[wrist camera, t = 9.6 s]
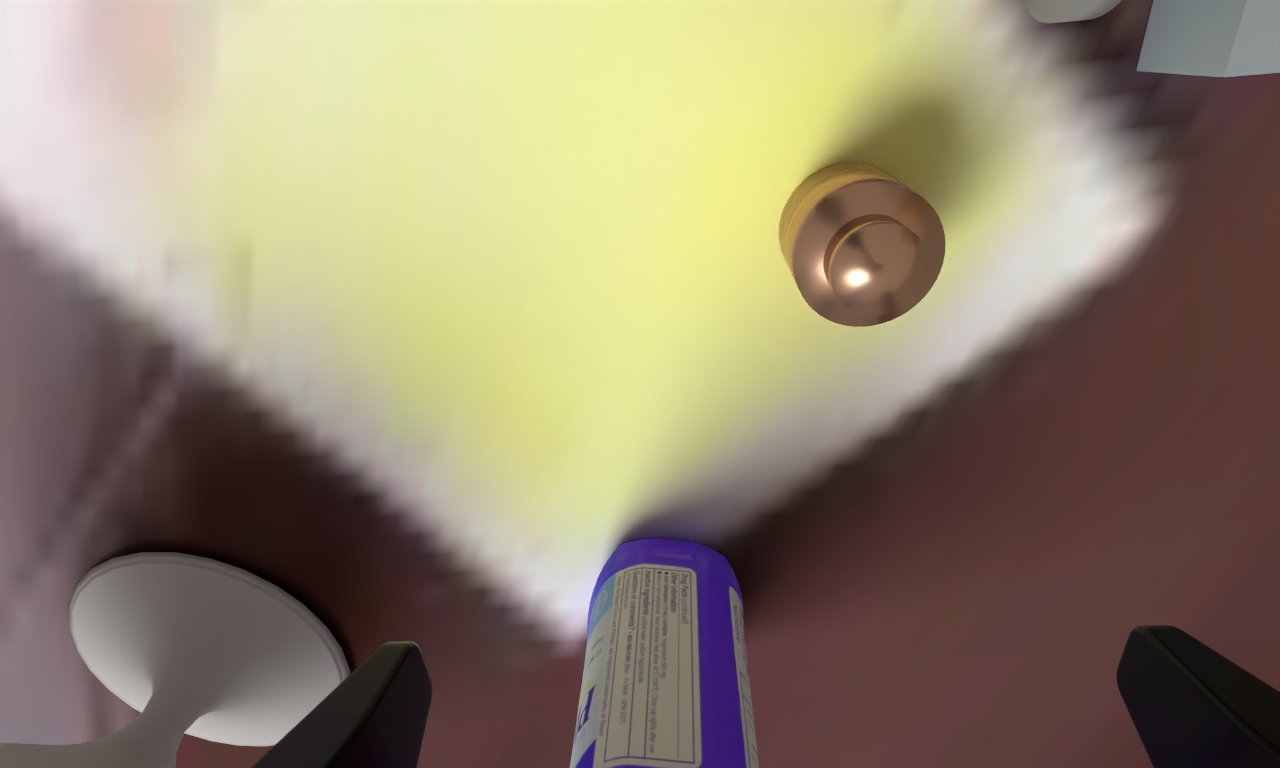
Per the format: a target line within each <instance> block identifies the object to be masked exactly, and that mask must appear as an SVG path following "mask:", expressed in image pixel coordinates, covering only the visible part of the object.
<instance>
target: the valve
mask: <svg viewBox="0 0 1280 768" xmlns="http://www.w3.org/2000/svg"><path fill="white" fill-rule="evenodd" d="M1121 1H1122V0H1023V2H1024V4H1025V6H1026V8H1027V10H1028V12H1029V13H1030V14H1031V16H1032V17H1033V18H1035V19H1036V20H1037V21H1040V22H1042V23H1057V22H1068V21H1079V20H1089V19H1094V18H1097V17H1099V16H1102V15H1104V14H1105V13H1107V12H1108V11H1110V10H1112V9H1113V8H1114V7H1115V6H1116V5H1118V4H1119V3H1120V2H1121ZM1136 71H1144V72H1158V73H1172V74H1185V75H1199V76H1213V77H1233V76H1245V75H1257V74H1269V73H1280V0H1153V4H1152V8H1151V12H1150V17H1149V21H1148V25H1147V29H1146V33H1145V37H1144V41H1143V45H1142V49H1141V53H1140V58H1139V62H1138V66H1137V70H1136Z"/></svg>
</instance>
